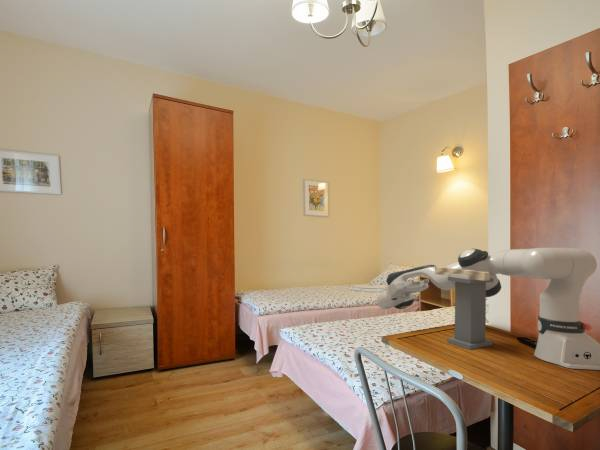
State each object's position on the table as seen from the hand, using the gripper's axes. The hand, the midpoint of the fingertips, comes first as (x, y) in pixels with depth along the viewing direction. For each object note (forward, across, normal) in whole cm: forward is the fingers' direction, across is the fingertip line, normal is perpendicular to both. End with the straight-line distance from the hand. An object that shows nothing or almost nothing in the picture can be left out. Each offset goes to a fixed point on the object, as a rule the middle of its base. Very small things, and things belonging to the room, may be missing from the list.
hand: (420, 280), depth 157 cm
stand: (+9, -3, -30) cm, 32 cm away
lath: (+20, 0, -7) cm, 21 cm away
